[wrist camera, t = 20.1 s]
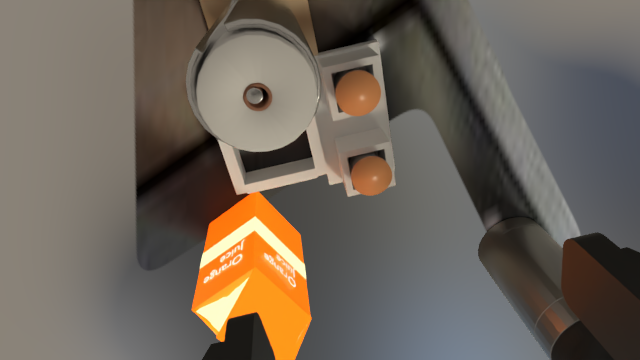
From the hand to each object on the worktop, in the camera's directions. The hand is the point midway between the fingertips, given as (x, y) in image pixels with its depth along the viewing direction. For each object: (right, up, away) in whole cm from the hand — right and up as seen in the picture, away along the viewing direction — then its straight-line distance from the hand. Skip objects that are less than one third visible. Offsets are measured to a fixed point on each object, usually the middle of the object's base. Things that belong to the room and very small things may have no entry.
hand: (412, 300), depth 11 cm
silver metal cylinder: (-8, +19, +31) cm, 37 cm away
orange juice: (-11, -3, +43) cm, 44 cm away
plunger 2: (+2, +6, +37) cm, 38 cm away
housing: (-4, +9, +37) cm, 38 cm away
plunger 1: (+1, +13, +33) cm, 35 cm away
